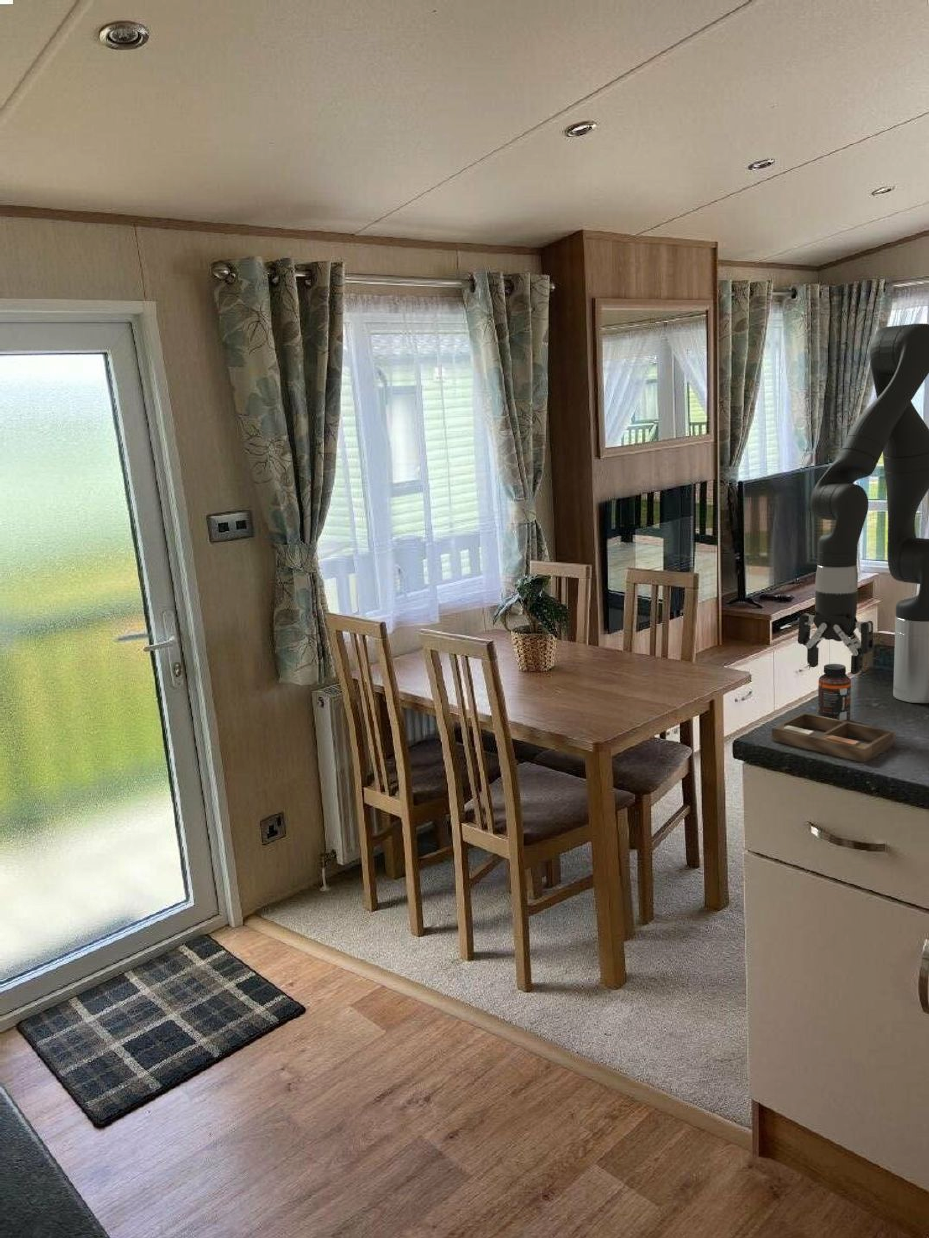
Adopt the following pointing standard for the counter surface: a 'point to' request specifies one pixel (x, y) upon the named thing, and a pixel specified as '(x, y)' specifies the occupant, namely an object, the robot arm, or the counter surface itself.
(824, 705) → the supplement bottle
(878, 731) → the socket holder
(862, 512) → the robot arm
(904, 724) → the counter surface
